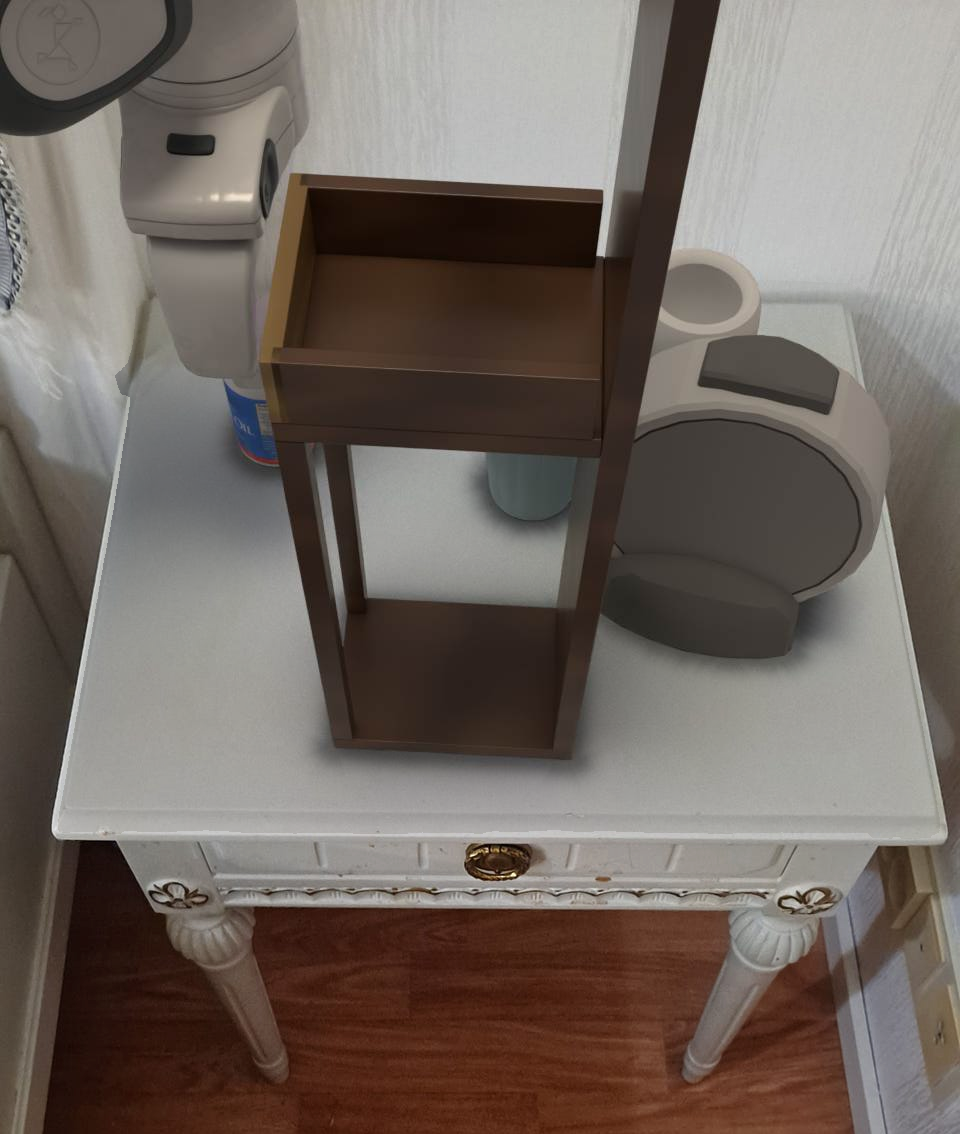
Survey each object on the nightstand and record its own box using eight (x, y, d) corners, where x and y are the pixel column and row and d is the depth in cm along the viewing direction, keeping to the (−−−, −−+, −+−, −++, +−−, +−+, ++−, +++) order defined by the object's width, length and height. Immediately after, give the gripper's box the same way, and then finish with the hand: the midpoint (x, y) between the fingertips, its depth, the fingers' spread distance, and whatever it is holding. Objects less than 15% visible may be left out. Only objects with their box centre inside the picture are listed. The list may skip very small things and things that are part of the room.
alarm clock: (839, 551, 75) (951, 320, 58) (814, 682, 71) (926, 475, 54) (595, 494, 77) (636, 252, 60) (558, 619, 73) (589, 398, 56)
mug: (611, 338, 82) (627, 240, 75) (731, 336, 82) (758, 238, 75) (627, 473, 77) (646, 382, 70) (754, 471, 78) (785, 380, 70)
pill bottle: (228, 419, 78) (198, 298, 69) (304, 398, 79) (285, 276, 70) (250, 480, 76) (223, 363, 67) (329, 458, 77) (313, 340, 68)
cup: (614, 501, 76) (635, 378, 67) (518, 554, 74) (526, 436, 65) (546, 426, 79) (558, 297, 69) (451, 476, 77) (450, 350, 67)
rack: (333, 747, 69) (180, -32, 30) (349, 605, 73) (232, -243, 34) (571, 760, 69) (721, -3, 30) (574, 617, 73) (710, -218, 34)
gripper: (183, -51, 60) (233, 194, 73) (111, 229, 52) (182, 449, 65) (304, -46, 60) (334, 198, 73) (252, 235, 52) (295, 455, 65)
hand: (262, 319), depth 69 cm, fingers open, 8 cm apart
